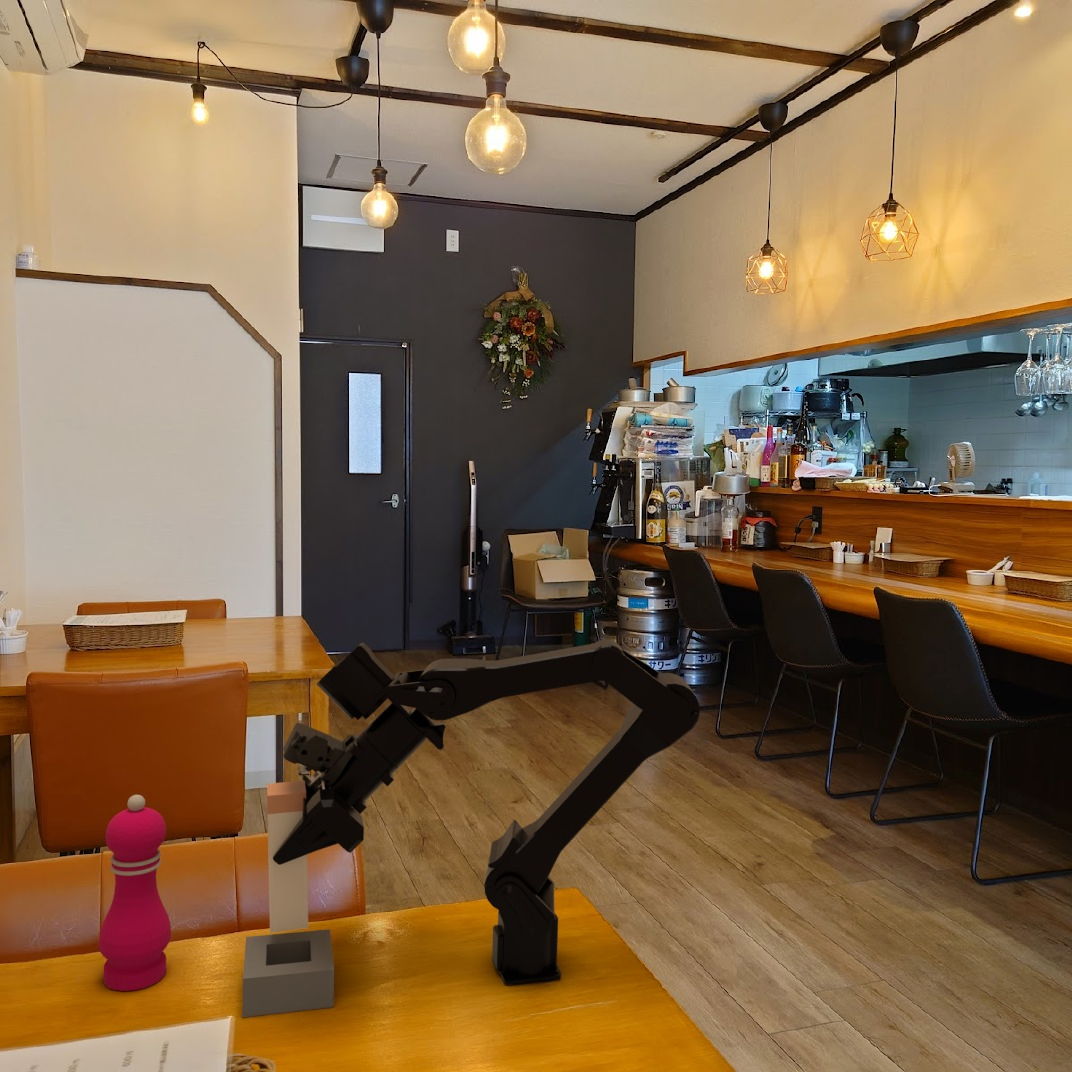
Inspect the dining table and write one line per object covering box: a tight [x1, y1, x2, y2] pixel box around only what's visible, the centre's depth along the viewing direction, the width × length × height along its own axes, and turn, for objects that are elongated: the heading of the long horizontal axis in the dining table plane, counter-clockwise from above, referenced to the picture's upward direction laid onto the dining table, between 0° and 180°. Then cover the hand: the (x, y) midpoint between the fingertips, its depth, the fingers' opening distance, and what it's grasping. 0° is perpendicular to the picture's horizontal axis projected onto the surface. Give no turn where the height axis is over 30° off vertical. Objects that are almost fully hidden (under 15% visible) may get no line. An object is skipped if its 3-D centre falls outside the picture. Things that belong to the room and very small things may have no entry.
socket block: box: [241, 928, 335, 1018], centre depth 101 cm, size 9×9×4 cm
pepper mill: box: [98, 794, 172, 992], centre depth 102 cm, size 7×7×20 cm
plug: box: [266, 780, 309, 934], centre depth 104 cm, size 4×4×15 cm
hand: (275, 853), depth 103 cm, fingers closed on plug, 4 cm apart
